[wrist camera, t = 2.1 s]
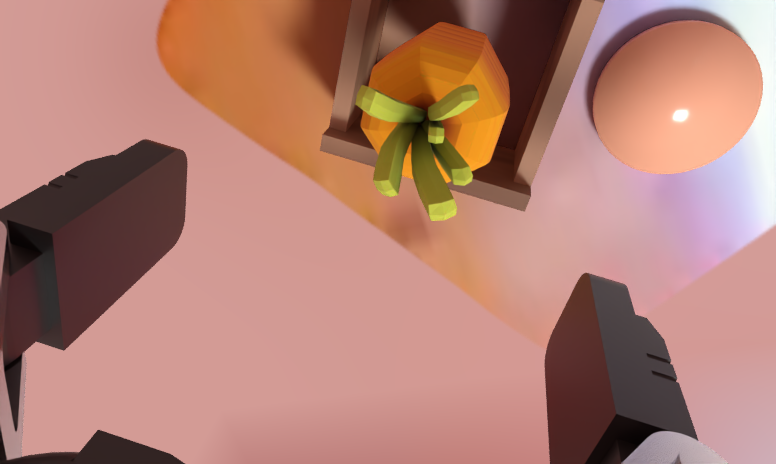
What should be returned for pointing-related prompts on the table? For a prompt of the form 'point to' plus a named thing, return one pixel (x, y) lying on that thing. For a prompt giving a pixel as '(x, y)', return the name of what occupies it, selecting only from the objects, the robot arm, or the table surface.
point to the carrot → (435, 113)
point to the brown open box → (507, 167)
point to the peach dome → (677, 96)
